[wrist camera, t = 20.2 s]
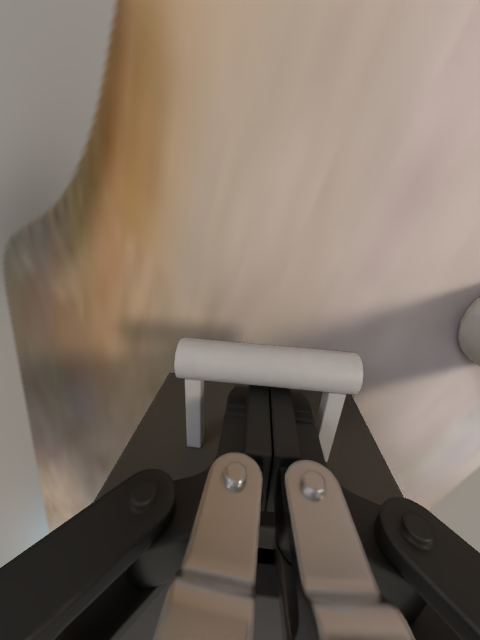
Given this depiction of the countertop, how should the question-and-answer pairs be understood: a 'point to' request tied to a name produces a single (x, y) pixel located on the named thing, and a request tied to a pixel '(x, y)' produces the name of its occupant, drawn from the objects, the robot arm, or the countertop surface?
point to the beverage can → (471, 332)
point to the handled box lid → (209, 410)
